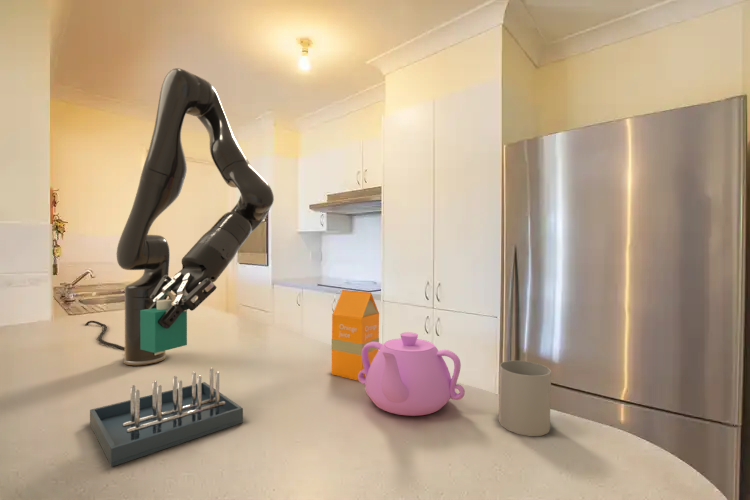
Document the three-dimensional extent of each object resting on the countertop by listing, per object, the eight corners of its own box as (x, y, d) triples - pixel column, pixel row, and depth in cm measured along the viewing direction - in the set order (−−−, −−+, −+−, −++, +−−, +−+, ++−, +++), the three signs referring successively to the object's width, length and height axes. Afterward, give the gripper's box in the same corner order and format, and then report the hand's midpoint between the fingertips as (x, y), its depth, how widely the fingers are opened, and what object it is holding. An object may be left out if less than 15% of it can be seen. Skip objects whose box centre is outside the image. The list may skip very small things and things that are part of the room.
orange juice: (361, 381, 87) (362, 294, 87) (330, 374, 92) (331, 291, 91) (379, 372, 94) (380, 290, 93) (349, 365, 98) (350, 288, 98)
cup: (547, 418, 70) (548, 363, 70) (552, 439, 62) (553, 378, 62) (499, 410, 72) (499, 358, 72) (498, 430, 65) (499, 372, 64)
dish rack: (122, 442, 58) (122, 386, 58) (218, 413, 68) (218, 365, 68) (127, 451, 56) (127, 392, 56) (225, 419, 66) (226, 370, 66)
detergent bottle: (140, 349, 67) (140, 301, 67) (172, 341, 73) (172, 297, 73) (155, 353, 65) (155, 303, 65) (187, 345, 71) (187, 299, 71)
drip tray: (89, 424, 65) (89, 409, 65) (204, 394, 79) (204, 381, 79) (111, 467, 53) (111, 448, 53) (242, 422, 67) (242, 407, 66)
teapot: (327, 420, 68) (327, 343, 67) (373, 380, 88) (374, 320, 88) (451, 446, 59) (452, 358, 59) (470, 395, 79) (471, 329, 79)
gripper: (177, 241, 79) (114, 308, 68) (225, 241, 72) (163, 316, 61) (200, 265, 83) (144, 331, 73) (247, 268, 77) (193, 341, 66)
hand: (153, 323), depth 67 cm, fingers closed on detergent bottle, 4 cm apart
